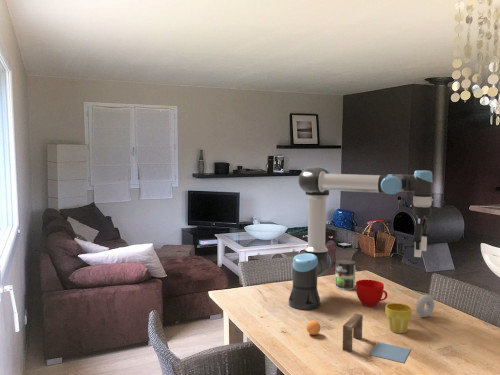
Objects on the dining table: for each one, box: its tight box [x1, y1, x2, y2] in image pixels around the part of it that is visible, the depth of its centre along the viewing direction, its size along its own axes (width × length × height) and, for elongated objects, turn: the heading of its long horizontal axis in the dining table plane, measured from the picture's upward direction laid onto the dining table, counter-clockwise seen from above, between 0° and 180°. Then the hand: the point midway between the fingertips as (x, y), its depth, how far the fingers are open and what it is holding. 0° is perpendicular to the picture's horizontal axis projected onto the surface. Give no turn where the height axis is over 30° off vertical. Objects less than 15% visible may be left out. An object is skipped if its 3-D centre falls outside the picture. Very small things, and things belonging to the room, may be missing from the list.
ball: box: [306, 319, 321, 336], centre depth 174 cm, size 6×6×6 cm
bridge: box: [342, 313, 364, 352], centre depth 166 cm, size 3×14×9 cm, turn 149°
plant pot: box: [385, 302, 413, 334], centre depth 179 cm, size 10×10×10 cm
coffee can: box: [335, 258, 357, 291], centre depth 235 cm, size 10×10×14 cm
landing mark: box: [369, 341, 412, 364], centre depth 159 cm, size 12×12×1 cm
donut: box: [415, 294, 435, 318], centre depth 193 cm, size 10×4×10 cm, turn 120°
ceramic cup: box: [355, 279, 388, 307], centre depth 208 cm, size 13×17×10 cm
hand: (420, 253), depth 193 cm, fingers open, 13 cm apart
